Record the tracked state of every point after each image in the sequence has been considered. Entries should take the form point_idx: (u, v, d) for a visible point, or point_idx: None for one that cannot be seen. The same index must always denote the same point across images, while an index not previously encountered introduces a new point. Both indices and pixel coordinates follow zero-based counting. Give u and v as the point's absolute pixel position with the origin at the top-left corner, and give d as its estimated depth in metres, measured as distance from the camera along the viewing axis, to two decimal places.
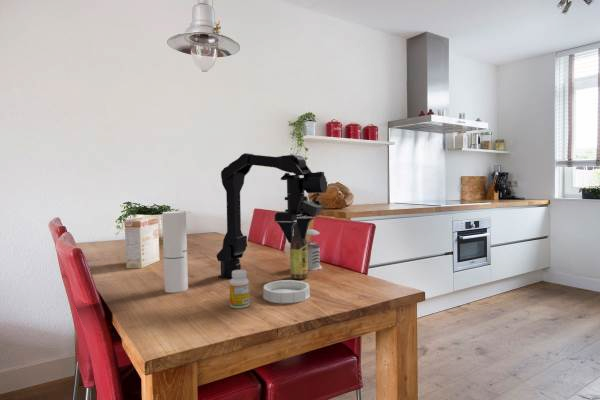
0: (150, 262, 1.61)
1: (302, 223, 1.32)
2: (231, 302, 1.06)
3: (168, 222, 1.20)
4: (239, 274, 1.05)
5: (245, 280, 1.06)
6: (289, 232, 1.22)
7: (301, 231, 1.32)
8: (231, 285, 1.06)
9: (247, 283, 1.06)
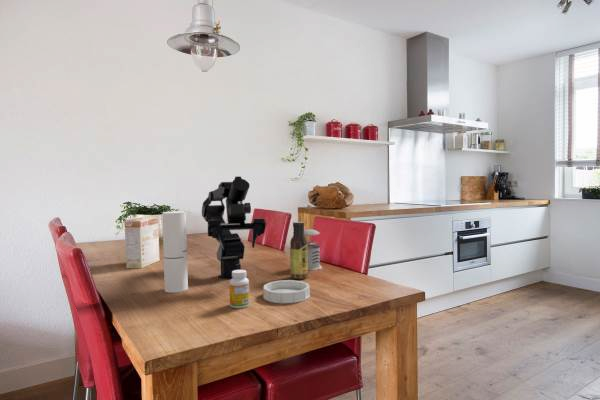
0: (150, 262, 1.61)
1: (252, 234, 1.27)
2: (231, 302, 1.06)
3: (168, 222, 1.20)
4: (239, 274, 1.05)
5: (245, 280, 1.06)
6: (219, 239, 1.22)
7: None
8: (231, 285, 1.06)
9: (247, 283, 1.06)
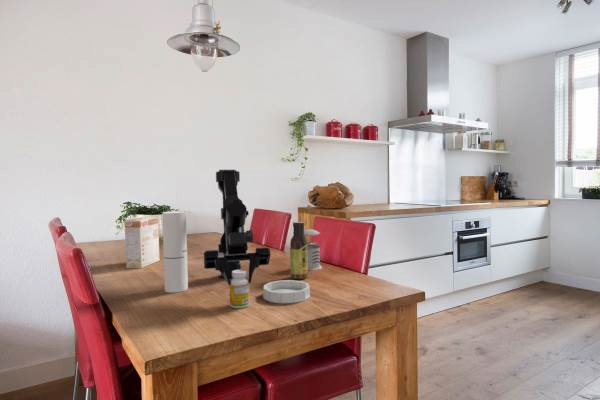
0: (150, 262, 1.61)
1: None
2: (231, 302, 1.06)
3: (168, 222, 1.20)
4: (239, 274, 1.05)
5: (245, 280, 1.06)
6: (224, 272, 1.07)
7: None
8: (231, 285, 1.06)
9: (247, 283, 1.06)
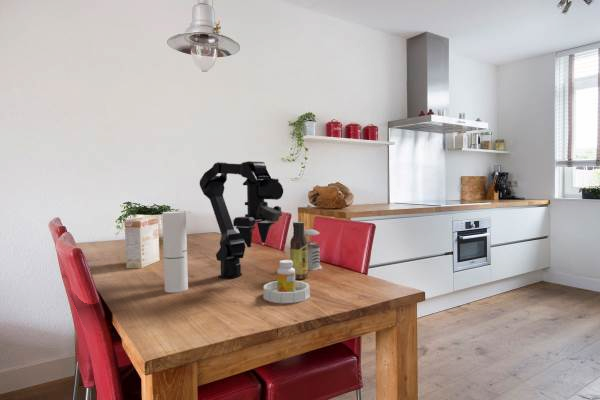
0: (150, 262, 1.61)
1: (263, 227, 1.35)
2: (282, 290, 1.14)
3: (168, 222, 1.20)
4: (290, 263, 1.14)
5: (293, 268, 1.16)
6: (248, 237, 1.25)
7: (262, 235, 1.35)
8: (283, 274, 1.13)
9: (294, 271, 1.16)
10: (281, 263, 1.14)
